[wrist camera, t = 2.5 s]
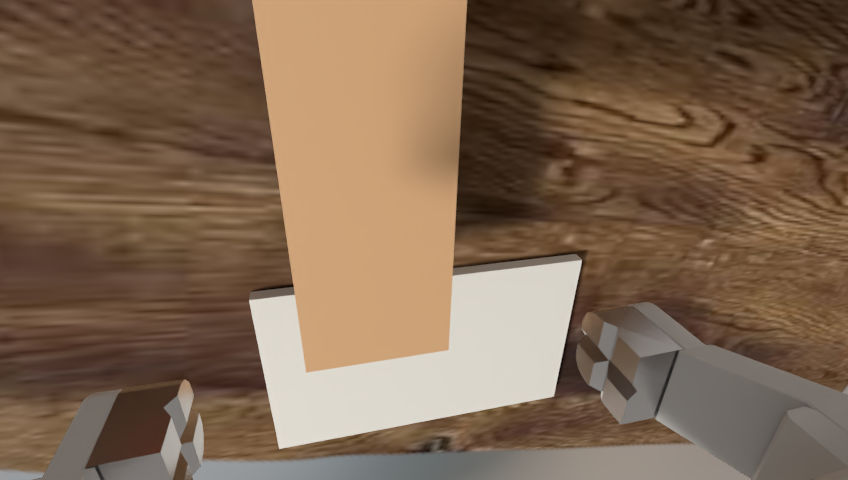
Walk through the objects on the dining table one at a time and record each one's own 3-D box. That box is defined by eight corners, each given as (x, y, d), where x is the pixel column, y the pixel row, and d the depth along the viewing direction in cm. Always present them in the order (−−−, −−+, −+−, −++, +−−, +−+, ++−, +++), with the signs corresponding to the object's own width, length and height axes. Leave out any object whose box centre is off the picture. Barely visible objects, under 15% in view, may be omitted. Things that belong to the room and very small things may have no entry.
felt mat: (575, 253, 29) (582, 259, 28) (548, 388, 35) (553, 396, 34) (250, 291, 25) (249, 300, 24) (279, 438, 30) (279, 448, 30)
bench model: (266, -20, 18) (247, -32, 12) (409, -17, 20) (468, -25, 13) (304, 270, 25) (306, 372, 18) (409, 258, 26) (448, 350, 19)
